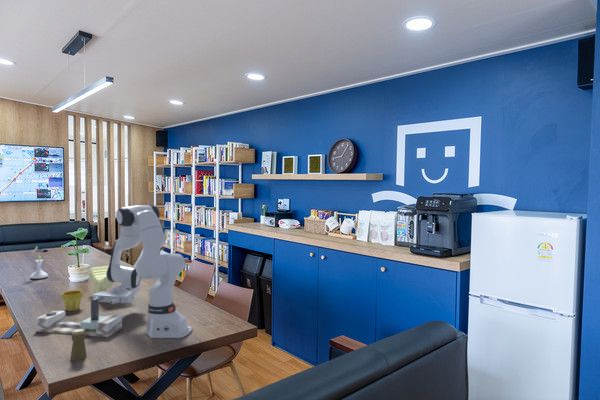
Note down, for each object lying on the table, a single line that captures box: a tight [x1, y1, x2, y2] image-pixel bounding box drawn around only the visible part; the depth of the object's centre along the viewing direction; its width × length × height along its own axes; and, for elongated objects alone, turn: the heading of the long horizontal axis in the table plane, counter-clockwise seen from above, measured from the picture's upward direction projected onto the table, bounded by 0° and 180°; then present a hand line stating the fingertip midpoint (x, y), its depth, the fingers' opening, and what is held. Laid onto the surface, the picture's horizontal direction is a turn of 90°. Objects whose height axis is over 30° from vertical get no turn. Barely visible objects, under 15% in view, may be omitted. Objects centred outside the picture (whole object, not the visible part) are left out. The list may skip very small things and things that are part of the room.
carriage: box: [80, 298, 109, 330], centre depth 193 cm, size 8×10×14 cm
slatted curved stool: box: [88, 265, 114, 294], centre depth 250 cm, size 30×16×18 cm, turn 43°
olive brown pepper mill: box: [70, 331, 88, 362], centre depth 164 cm, size 6×6×11 cm
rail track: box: [36, 310, 123, 338], centre depth 194 cm, size 38×12×7 cm, turn 83°
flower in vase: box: [29, 246, 49, 280], centre depth 293 cm, size 13×11×25 cm
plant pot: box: [61, 290, 83, 312], centre depth 225 cm, size 10×10×10 cm
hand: (103, 301), depth 200 cm, fingers open, 8 cm apart
